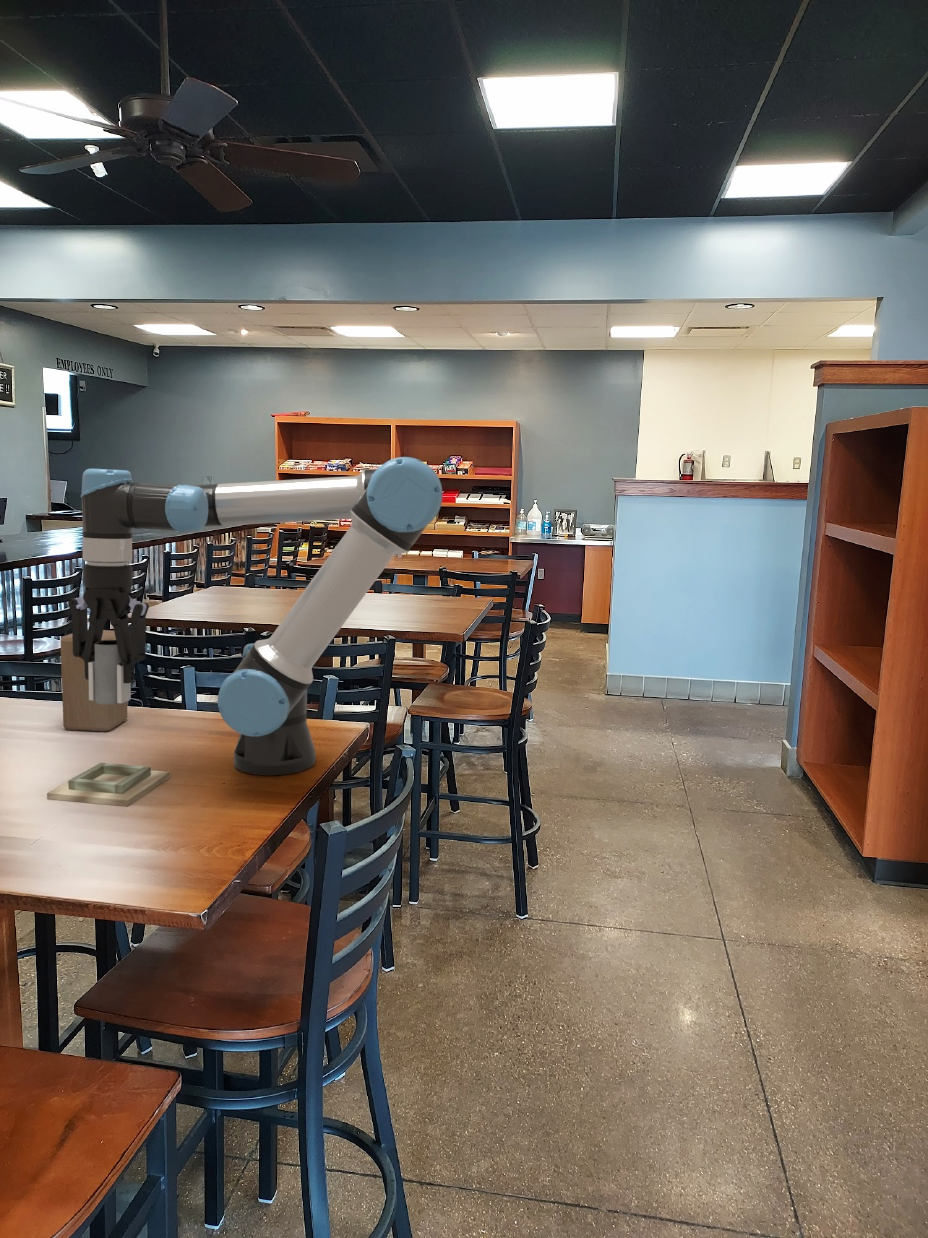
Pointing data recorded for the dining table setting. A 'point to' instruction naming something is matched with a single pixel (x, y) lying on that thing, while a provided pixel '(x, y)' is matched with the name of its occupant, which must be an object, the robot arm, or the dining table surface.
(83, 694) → the block
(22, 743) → the dining table surface
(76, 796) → the stand
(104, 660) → the grey hollow tube
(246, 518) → the robot arm
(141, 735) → the dining table surface
